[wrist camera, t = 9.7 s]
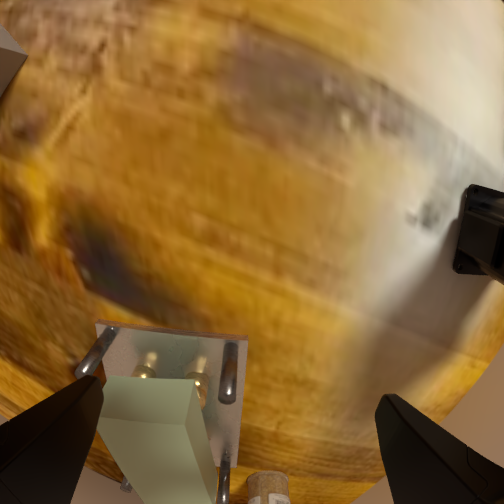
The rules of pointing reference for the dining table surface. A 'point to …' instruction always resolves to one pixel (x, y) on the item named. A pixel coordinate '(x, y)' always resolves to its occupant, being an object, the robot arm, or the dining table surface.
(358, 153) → the dining table surface
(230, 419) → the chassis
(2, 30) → the icon cube
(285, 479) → the sprinkles bottle
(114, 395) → the board
